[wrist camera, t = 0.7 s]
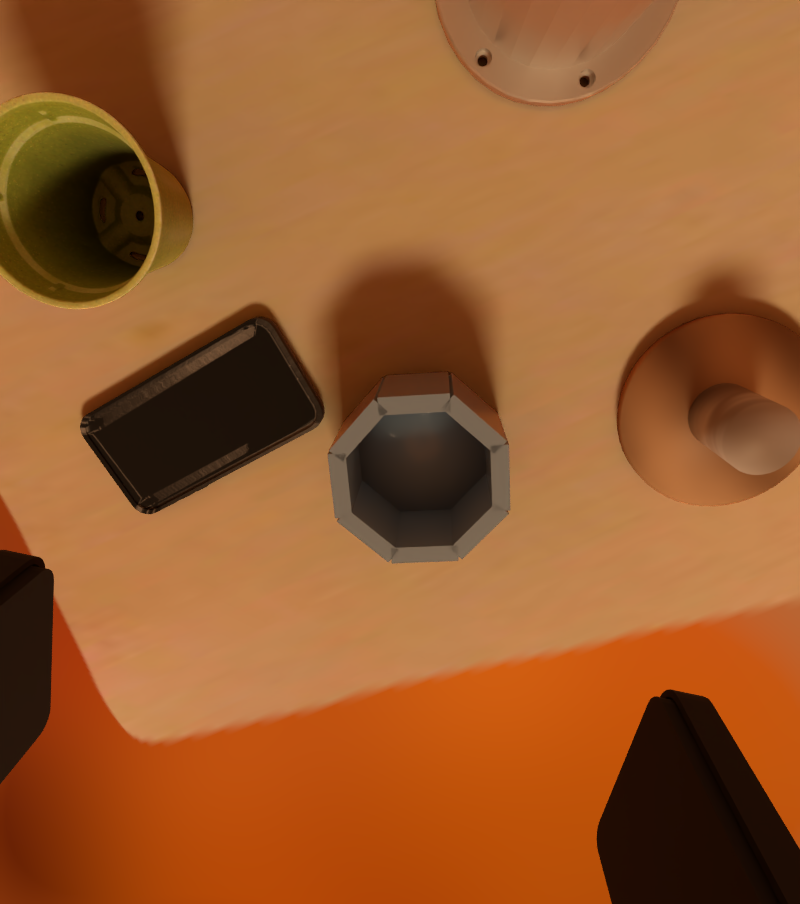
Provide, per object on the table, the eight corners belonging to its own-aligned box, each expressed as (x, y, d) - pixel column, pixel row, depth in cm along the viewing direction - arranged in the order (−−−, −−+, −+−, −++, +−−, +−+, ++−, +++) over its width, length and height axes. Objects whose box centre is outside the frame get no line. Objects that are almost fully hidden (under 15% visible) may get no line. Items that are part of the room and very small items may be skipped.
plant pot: (62, 116, 36) (-51, 77, 27) (225, 138, 35) (160, 106, 27) (69, 284, 39) (-31, 295, 30) (219, 305, 38) (160, 321, 30)
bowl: (414, 340, 38) (410, 357, 33) (531, 443, 40) (547, 476, 34) (315, 454, 41) (295, 488, 35) (428, 546, 43) (427, 592, 37)
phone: (73, 422, 41) (263, 311, 38) (82, 418, 42) (268, 309, 39) (143, 520, 43) (330, 422, 40) (150, 514, 44) (332, 417, 41)
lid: (725, 269, 36) (781, 274, 30) (856, 402, 38) (931, 430, 32) (575, 418, 40) (599, 448, 34) (703, 533, 42) (746, 580, 36)
